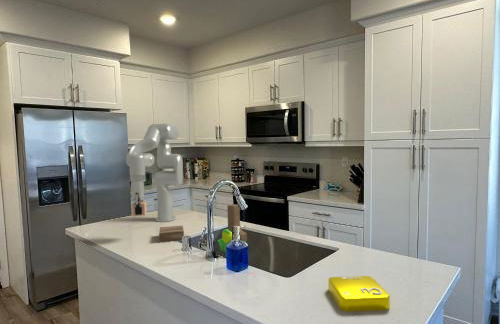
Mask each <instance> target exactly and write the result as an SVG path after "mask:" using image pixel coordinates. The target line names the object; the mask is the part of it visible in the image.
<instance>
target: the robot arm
mask: <svg viewBox="0 0 500 324" xmlns="http://www.w3.org/2000/svg"><path fill="white" fill-rule="evenodd" d="M179 134H180V132H179V129H178V127H177V126H176V125H173V124H170V123H154V124H151V125H149V126H148V127H147V130H146V132H145V135H144V136H143V138H142V139H141V140H140V141H138V142H135V144H134V145H132V146H131V147H130V148H129V150H128V152H127V154H126V157H125V161H126V165H127V166H128V167H129V180H130V181H129V182H131V201H132V202H135V215H140V214H142V206H141V202H144V198H145V182H146V179H147V177H146V168H150V167H152V166H153V165H154V164H155V156H154V154H152V153H150V151H153V150H155V149H156V150H157V152H156V155H157V156H156V158H157V159H156V165H157V167H158V169H162V170H160V171H157V172H156V173H155V174H154V181H155V188H156V203H157V207H156V208H157V209H156V210H157V217H155V219H154V221H155V222H160V223H164V222H171V221H172V222H173V221H174V220H176V216H175V215H174V213H173V212H174V210H173V207H174V206H173V192H172V189H171V188H170V187H171V186H172V187H173V186H177V187H178V186H181V185H182V184H183V178H184V175H183V174H184V172H183V170H184V168H183V167H184V164H183V163H184V162H183V157H182V155H181V154H179V153H172V146H171V144H170V142H169V140H170V141H171V140H173V141H174V140H177V139H178V137H179ZM163 169H165V170H163ZM171 169H172V170H171ZM173 169H174V170H173ZM169 186H170V187H169ZM139 202H140V204H139Z"/></svg>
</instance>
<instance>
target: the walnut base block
mask: <svg viewBox="0 0 500 324" xmlns="http://www.w3.org/2000/svg"><path fill="white" fill-rule="evenodd" d="M183 236H184V237H185V233H184V226H183V225H172V226H162V227H159V232H158V238H159V239H158V240H159V243H160V242H162V243H171V241H173V242H181V240H182V237H183Z"/></svg>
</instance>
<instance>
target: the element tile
mask: <svg viewBox="0 0 500 324" xmlns="http://www.w3.org/2000/svg"><path fill="white" fill-rule="evenodd" d="M327 280H328V285H327V287H328V293H329V294H330V296H331V298H332V299H333V301H334V302H335V304H336V305H337V307H338V309H339V310H341V311H342V312H369V311H370V312H373V311H374V312H375V311H388V310H389V309H390V296H391V295H390V294H389V293H388V292H387V291H386V290H385V289H384V287H382V286H381V284H380V283H378V282H377V280H376V279H375V278H374V277H372V276H370V275H356V276H355V275H354V276H332V277H329V278H328V279H327Z"/></svg>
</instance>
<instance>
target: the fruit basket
mask: <svg viewBox="0 0 500 324" xmlns="http://www.w3.org/2000/svg"><path fill="white" fill-rule="evenodd" d="M231 240H232V232H230V231H229V230H228V228H225V229H223V230H222V232H221V238H220V239H218V240H217V242H218V245H219V248H220V251H221V252H223V253H225V254H227V253H226V246H227V244H228V243H229V242H230V241H231ZM244 242H245V241H244ZM245 243H246V242H245Z"/></svg>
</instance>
